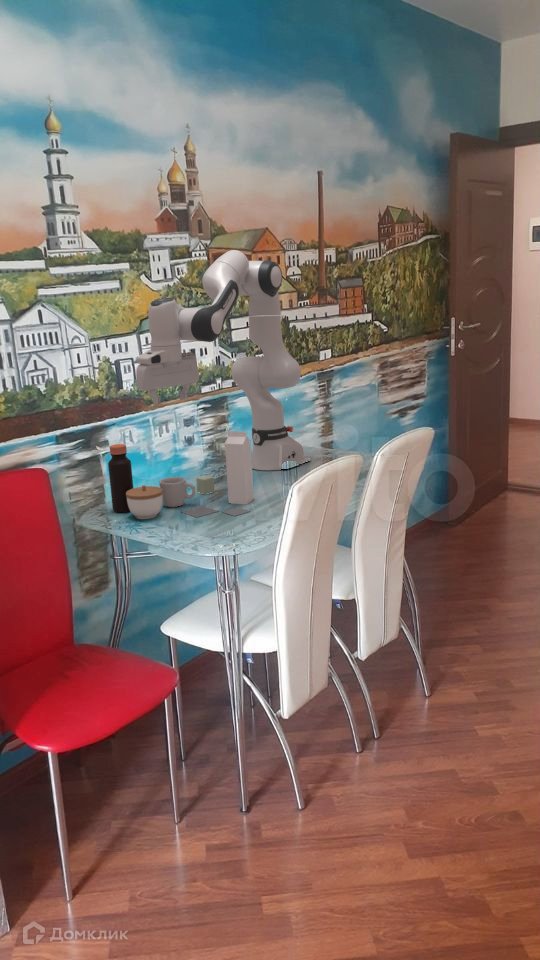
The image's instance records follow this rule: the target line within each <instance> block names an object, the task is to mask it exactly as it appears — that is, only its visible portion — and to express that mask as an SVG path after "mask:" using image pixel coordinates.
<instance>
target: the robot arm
mask: <svg viewBox="0 0 540 960" xmlns="http://www.w3.org/2000/svg"><path fill="white" fill-rule="evenodd" d="M201 281H202V287H203V289H204V292H205V294H206V295H207V296H208V297H209V298H210V299H211V300H213V302H212V303H211V305H208V306H204V307H203V306H202V307H184V306H182V305H180V304H178V303H177V301H176V300H175V299H174V298H173V297H162V298H161V297H160V298H157V299H154V300H152V301H151V302H150V303H149V307H148V315H147V317H148V318H147V319H148V330H149V334H150V336H151V337H150V339H151V340H150V349H149V350H147V351H146V352H143V353H141V354H140V355H137V356H136V363H137V364H138V366H136V370H135V377H136V378H135V380H136V381H135V382H136V387H137V389H138V390H140V391H142V392H143V391H144V392H145V391H146V392H147V391H148V394H149V395H150V397H151V398H152V402H153V405H161V404H162V402H161V398H160V397H158V395H157V392H158V391H157V390H158V389H164V388H171V387H178V386H181V387H182V391H181V392H180V393H179V400H182V401H184V400H187V399H188V393H189V390H190V388H191V387H190V384H196V383H198V382H199V381H200V373H199V368H198V363H197V362H198V361H197V355H196V354H195V353H193V352H192V351H187V352H182V343H181V341H188V342H190V341H192V342H193V341H195V342H206V343H212V342H214V341H216V340H217V339H218V338H219V336H220V335H221V333H222V331H223V327H224V324H225V323H226V320H227V319H228V317H229V316H230V313H231V312H232V310H233V308H234V306H235V304H236V302H237V300H238V297H239V296H249V301H248V302H249V303H248V336H249V340H250V341H251V342H252V343H253V344H254V345H256V346H257V347H259V349H260V350H261V351H262V355H263V356H245V357H241V358H238V359H236V360H235V361H234V362H233V364H232V367H231V374H230V375H231V379H232V380H233V382H234V384H236V386H238V387H239V388H240V389H241V390H242V391H243V392H244V394H245V396H246V397H247V401H248V402H249V406H250V410H251V417H252V428H251V437H252V444H253V446H252V455H251V458H252V470H257V471H282V470H281V468H282V464H283V463H284V462H286V461H296V462H297V463H296V464H301V463H303V462H306V461H309V460H311V461H312V459H311V457H310V456H306V455H305V451H304V447H303V445H302V444H301V443H300V442H298V441H297V440H295V439H294V438H292V437H291V436H290V435H289V433H293V432H294V428H293V426H289V425H288V426H286V425H285V418H284V406H283V404H282V402H281V401H280V400H279V399H277V398H275V397H274V396H273V394H272V393H271V392H270V389H278V390H282V389H283V390H284V389H288V388H293V387H296V386H297V384H298V383H299V381H300V379H301V376H302V369H301V366H300V364H299V362H298V360H296V359H295V358H293V357H292V355H291V354H290V353H289V351H288V349H287V348H286V346H285V344H284V340H283V335H282V310H281V301H280V295H279V290H280V288H281V286H282V283H283V271H282V269H281V267H280V265H279V264H278V263H277V262H275V261H273V260H249V259H248V257H247V256H246V254H244V253H243V252H242V251H241V250H236V249H231V250H228V251H226V252H225V253H223V254H222V255H221V256H219V257H218V258H217V259H215V260H214V262H213V263H212V264H211V265H210V266H209V267H207V269H206V270H205V272H204V274H203V276H202V279H201ZM288 432H289V433H288Z"/></svg>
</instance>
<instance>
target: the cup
mask: <svg viewBox="0 0 540 960" xmlns="http://www.w3.org/2000/svg"><path fill="white" fill-rule="evenodd" d="M159 488H161V489H162V490H163V503H162V504H163V505H164V506H165V507H167V508H178V506H179V507H181V505H182V506H183V505H184V504H185V502H186V499H187V500H188V499H192V498H193V497H194V496H195V495H196V487H195V485H194V484H192V483H191V482H186V478H184V477H180V476H172V477H171V476H170V477H165V478H162V479H160V480H159ZM187 488H191V490H192V492H191V494H188V492H187Z"/></svg>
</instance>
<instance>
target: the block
mask: <svg viewBox="0 0 540 960" xmlns="http://www.w3.org/2000/svg"><path fill="white" fill-rule="evenodd" d="M195 479H196V492H200V493H203V494H207V493H210V492H214V491H215V492H216V489H215V478H214V476H210V475H202V476H199V477H196V478H195ZM215 492H214V493H215ZM203 494H202V495H203ZM207 495H208V494H207Z"/></svg>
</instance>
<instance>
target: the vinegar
mask: <svg viewBox="0 0 540 960" xmlns="http://www.w3.org/2000/svg"><path fill="white" fill-rule="evenodd" d="M109 453H110V456H111V458H110V459H109V461H108V463H107V465H108V476H109V486H110V494H111V495H110V497H111V505H112V511H113V512H115V513H121V514H122V513H129V512H131V511H130V510H129V507H128V503H127V497H126V492H127V491H128V490H130V489H133V488H134V481H133V472H132V471H133V470H132V462H131V459H129V458H128V457H127V445H126V444H124V443H116V444H112V445H110V446H109Z"/></svg>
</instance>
